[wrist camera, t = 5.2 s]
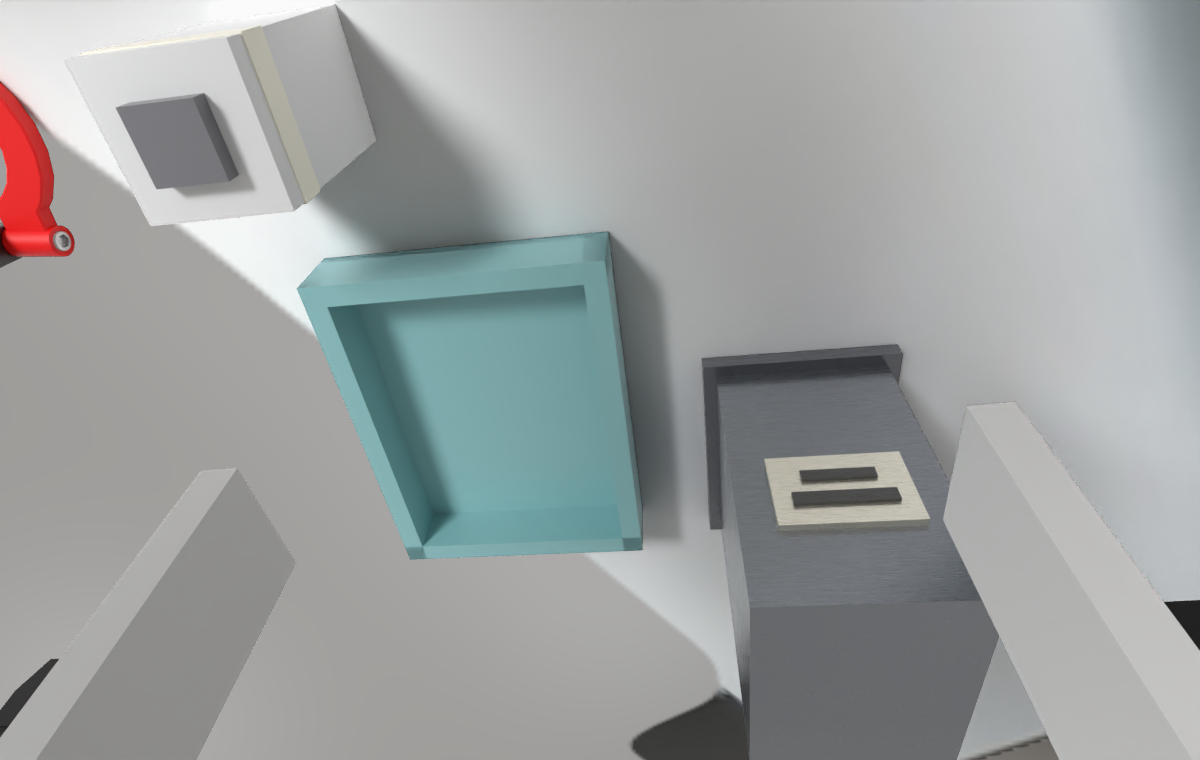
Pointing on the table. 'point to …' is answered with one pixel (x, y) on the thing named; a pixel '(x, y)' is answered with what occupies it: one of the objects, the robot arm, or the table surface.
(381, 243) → the table surface
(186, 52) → the white tall square block
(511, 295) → the parts tray
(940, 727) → the controller unit
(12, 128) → the tow hook
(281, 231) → the table surface
